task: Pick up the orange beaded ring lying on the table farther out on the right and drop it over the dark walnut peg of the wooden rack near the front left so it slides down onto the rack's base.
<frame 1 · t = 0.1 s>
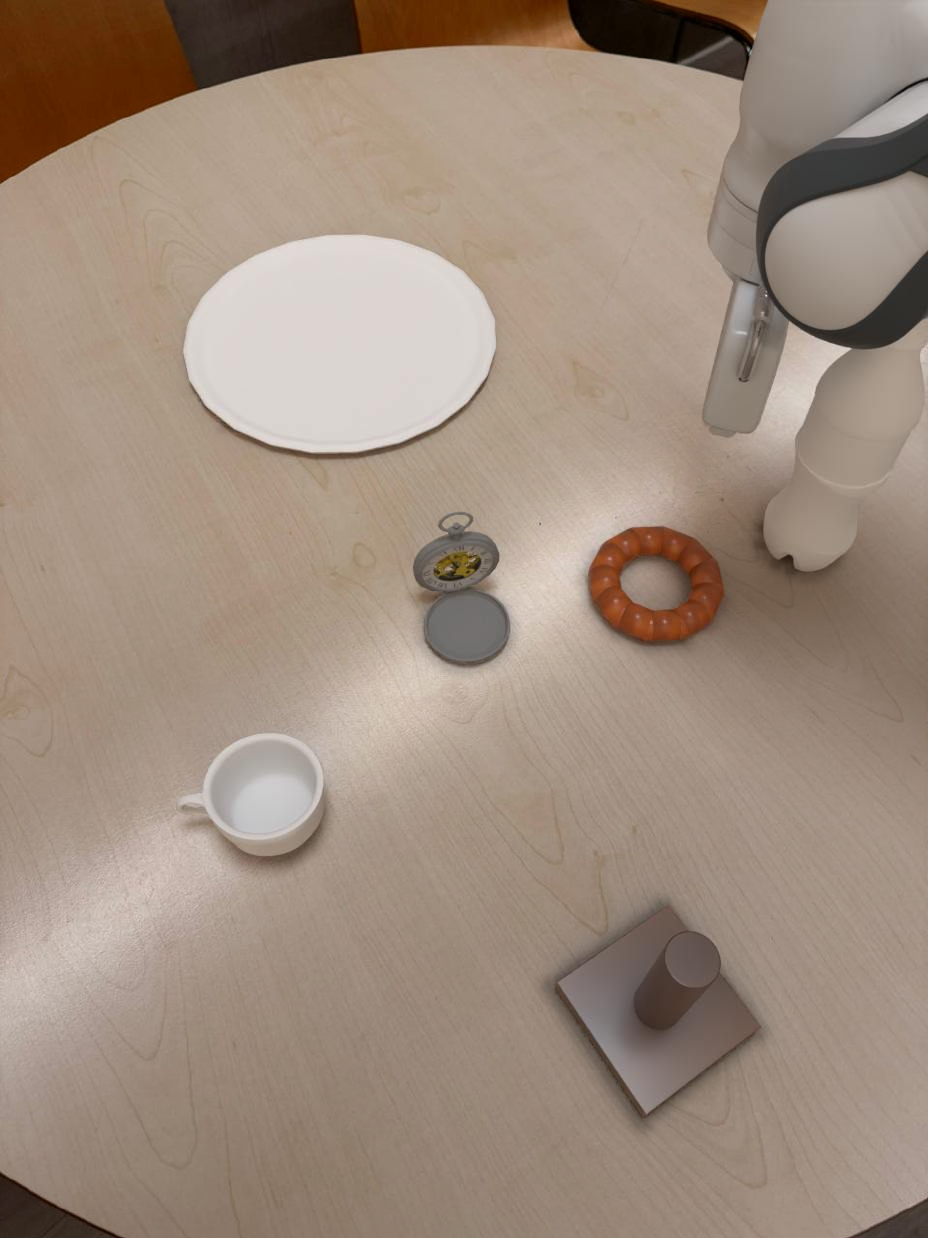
hand: (732, 383, 75), 14 cm above the table, tool pointing down, fingers open, 8 cm apart
teacup: (260, 818, 72), on the table
orange beaded ring: (655, 582, 81), point 1 cm above the table
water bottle: (799, 546, 84), on the table
rack: (653, 1009, 65), on the table
pocket watch: (465, 619, 80), on the table
plate: (342, 344, 97), on the table
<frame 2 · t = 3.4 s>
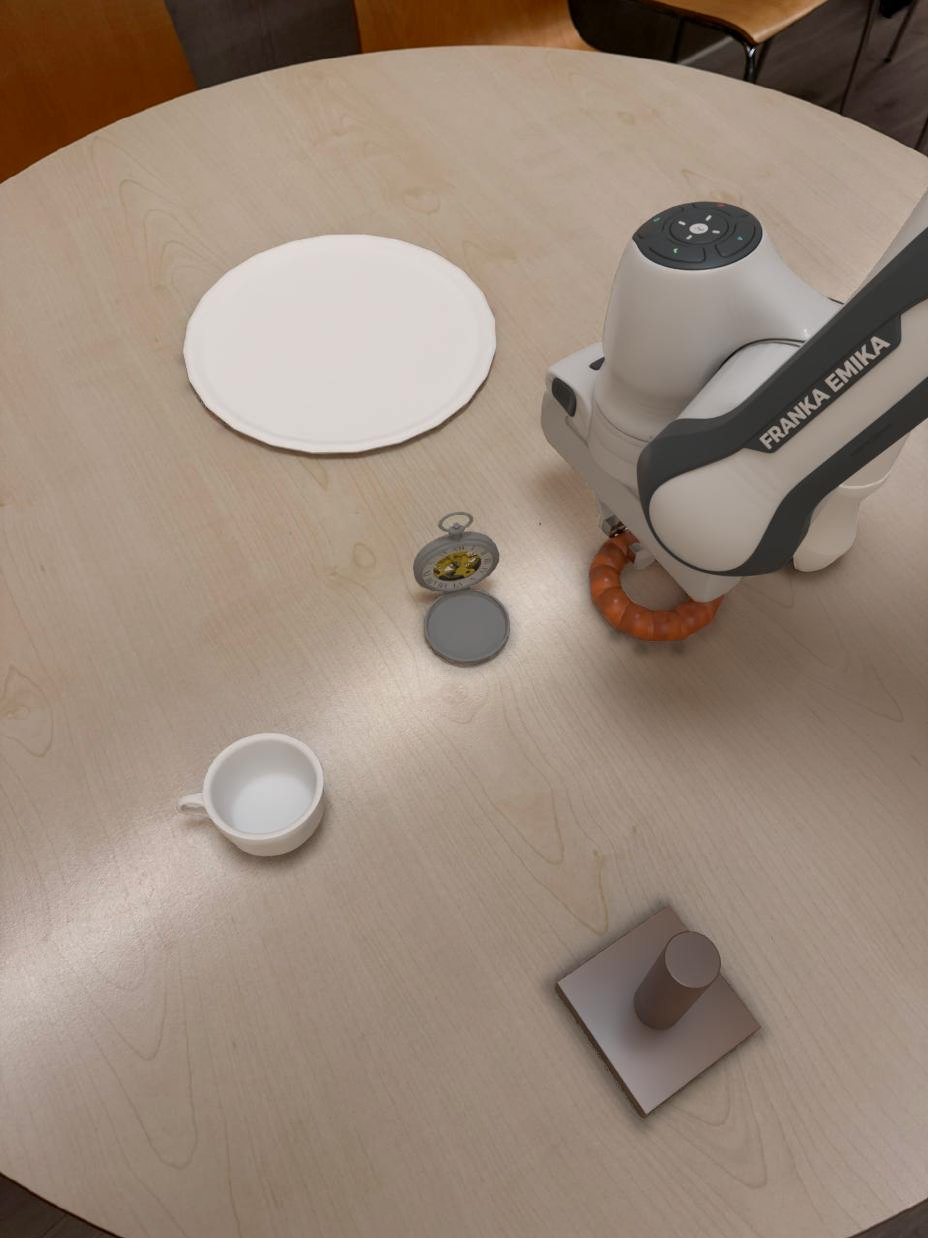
hand: (625, 544, 82), 2 cm above the table, tool pointing down, fingers closed on orange beaded ring, 2 cm apart
orange beaded ring: (655, 582, 81), point 1 cm above the table, touching gripper
everything else where it was.
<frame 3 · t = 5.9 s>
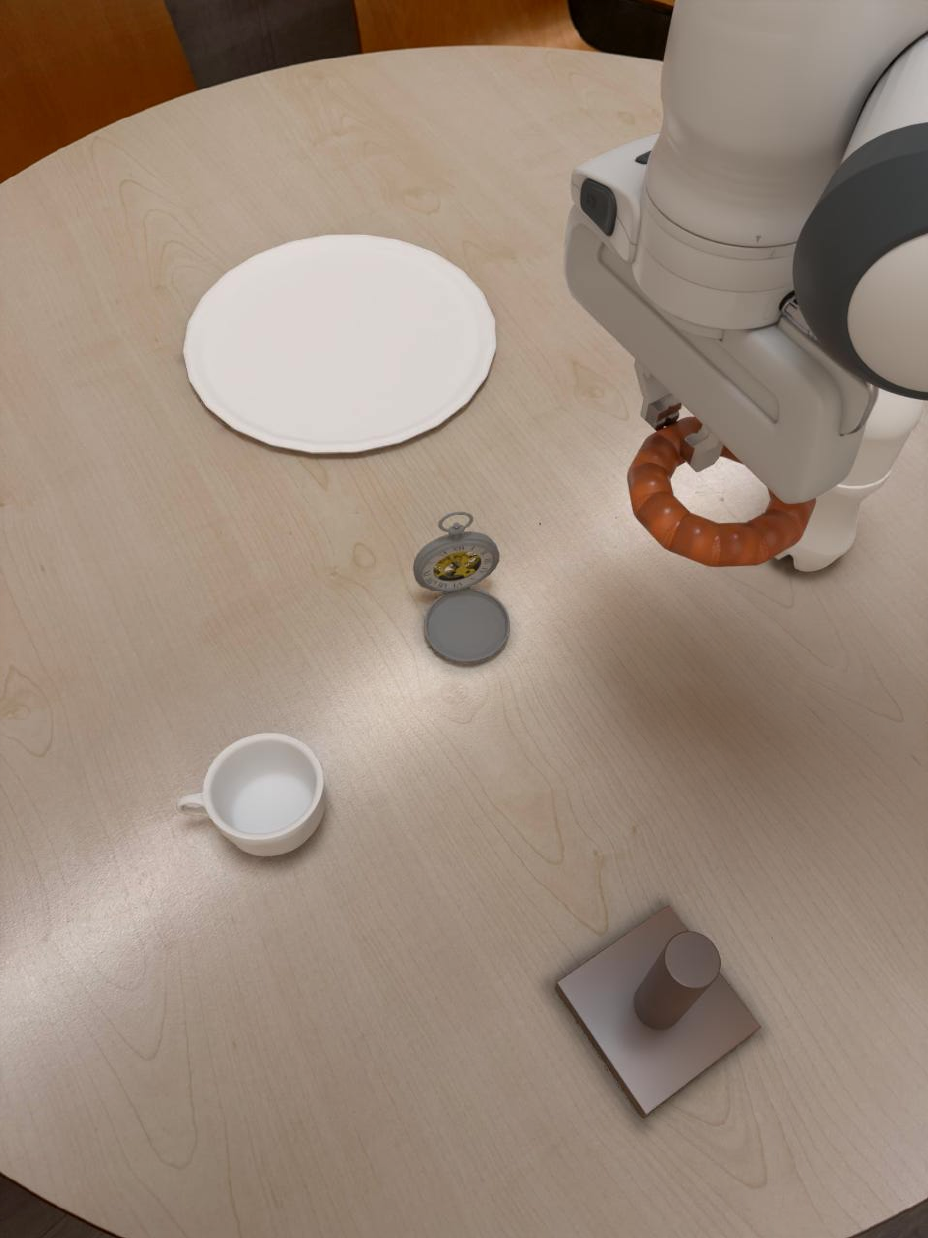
hand: (677, 440, 60), 23 cm above the table, tool pointing down, fingers closed on orange beaded ring, 2 cm apart
orange beaded ring: (720, 488, 59), point 22 cm above the table, touching gripper
everything else where it was.
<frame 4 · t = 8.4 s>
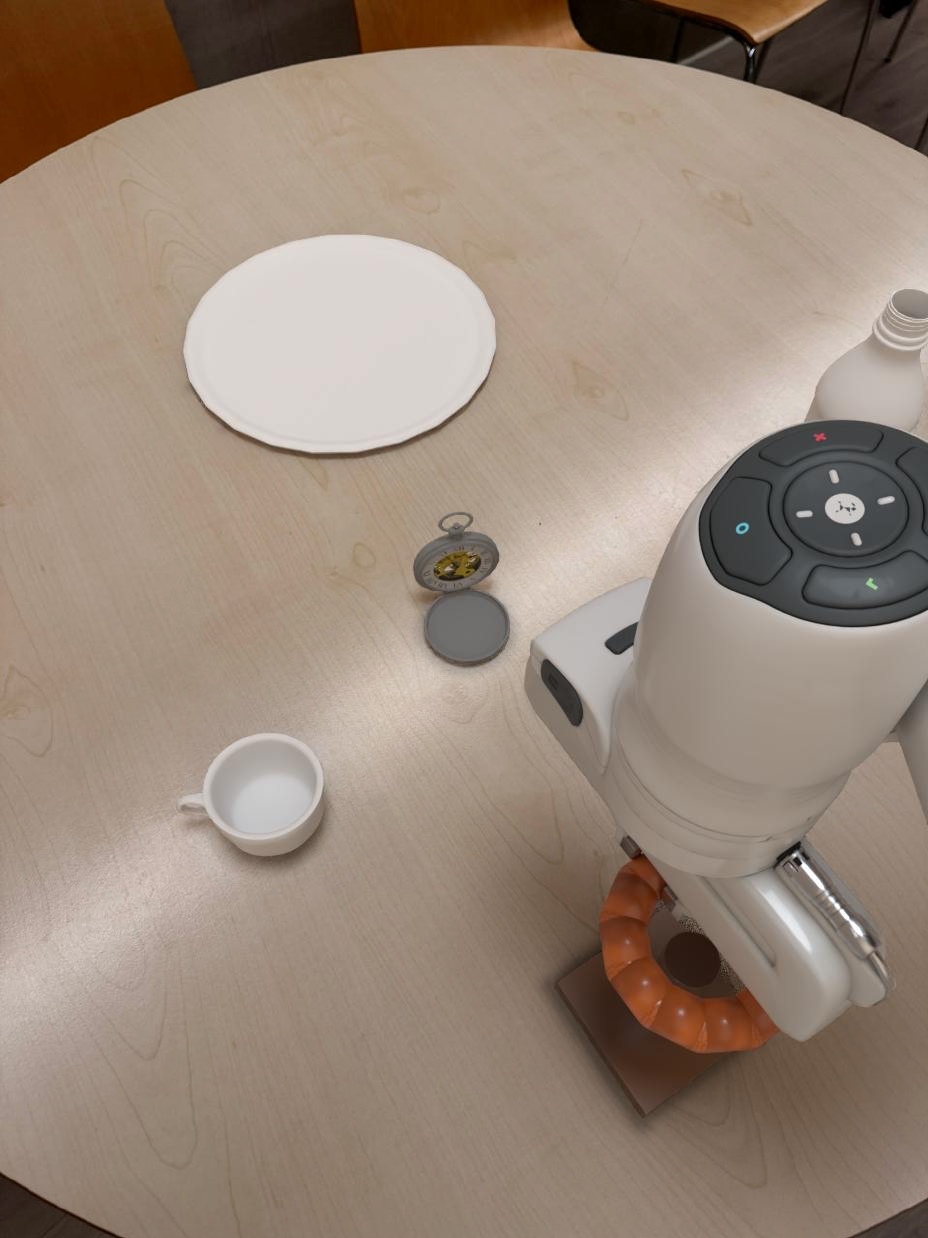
hand: (656, 871, 52), 17 cm above the table, tool pointing down, fingers closed on orange beaded ring, 2 cm apart
orange beaded ring: (705, 939, 51), point 16 cm above the table, touching gripper
everything else where it was.
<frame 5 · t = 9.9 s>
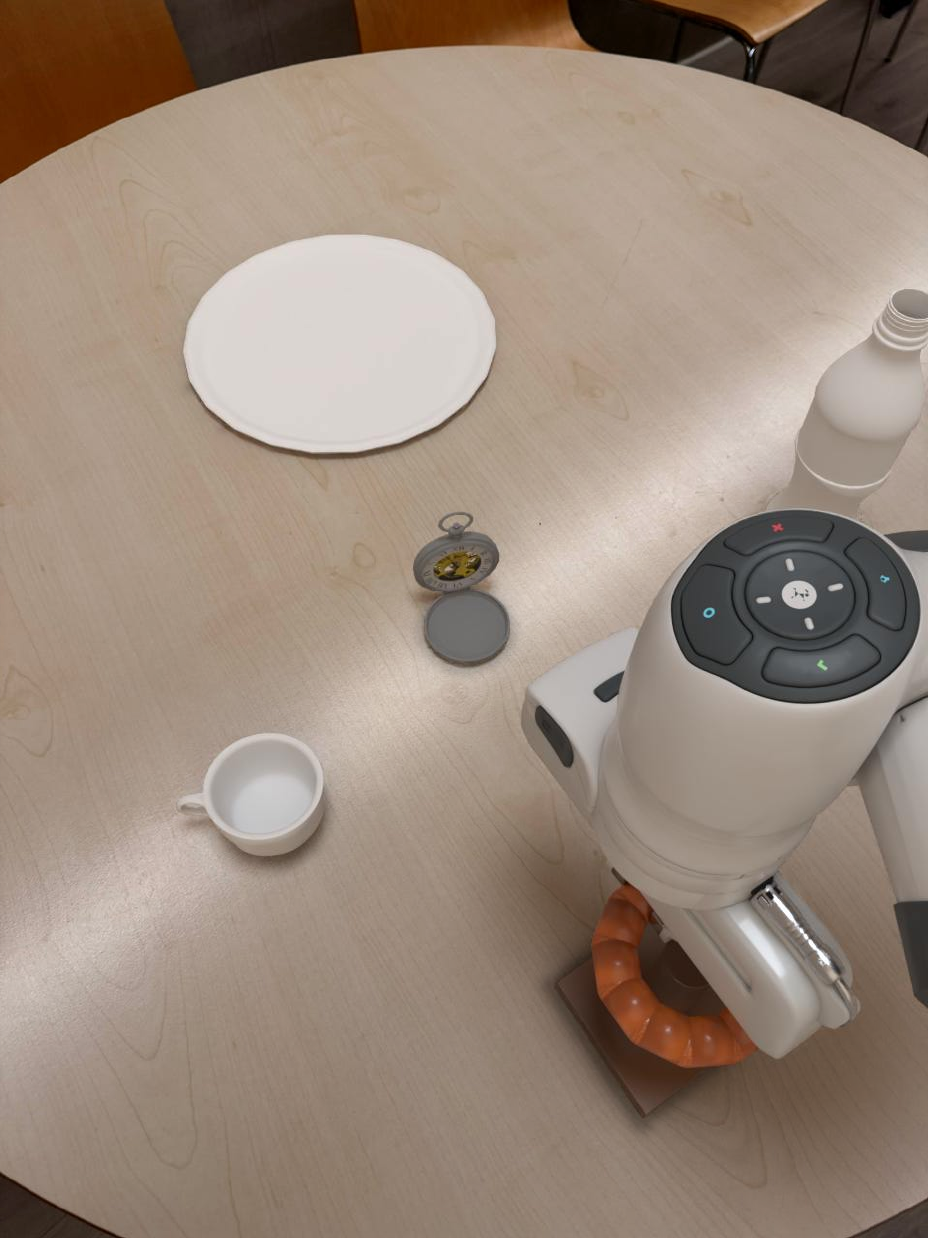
hand: (645, 895, 56), 13 cm above the table, tool pointing down, fingers closed on orange beaded ring, 2 cm apart
orange beaded ring: (691, 960, 54), point 12 cm above the table, touching gripper
everything else where it was.
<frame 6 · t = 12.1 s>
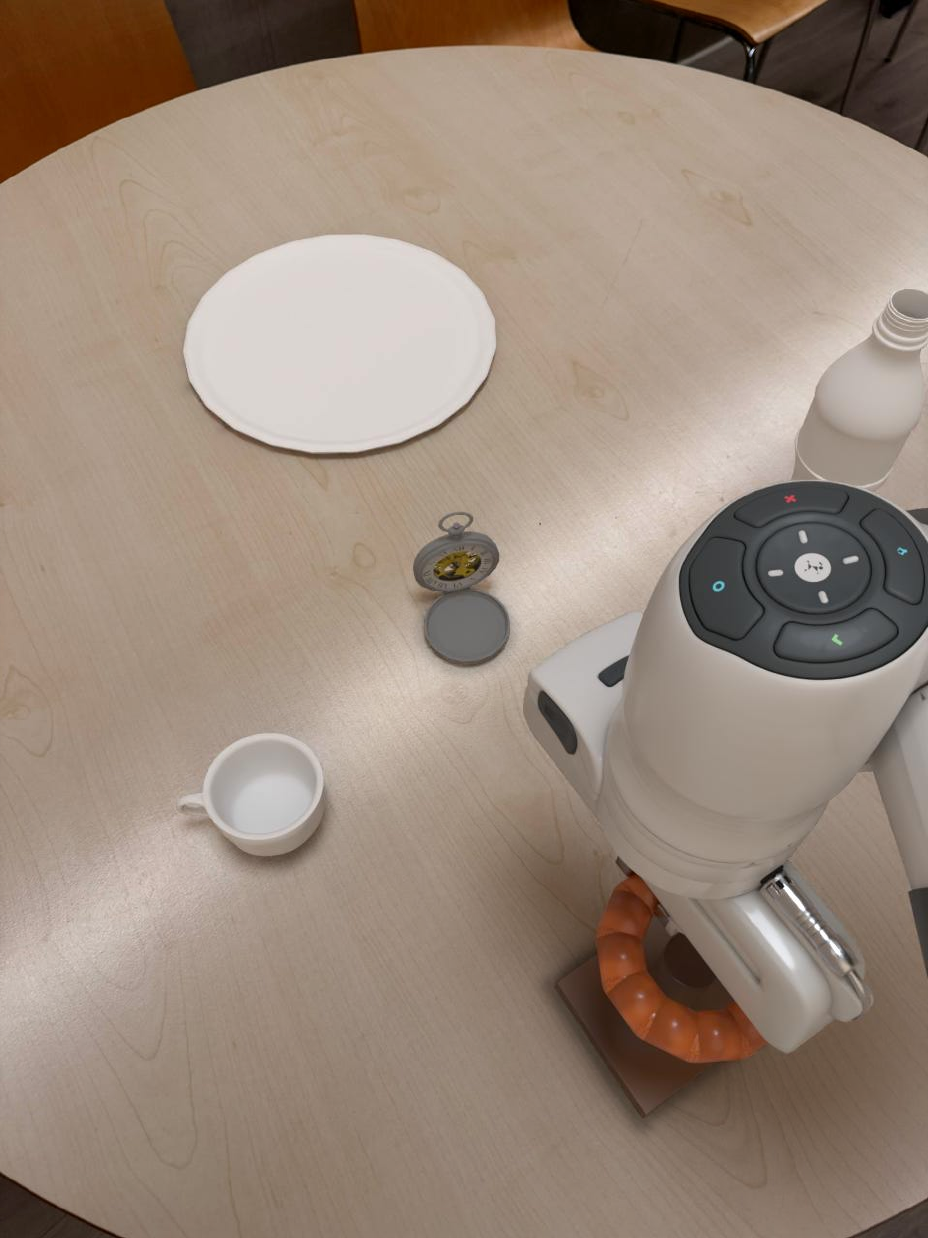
hand: (651, 887, 55), 14 cm above the table, tool pointing down, fingers closed on orange beaded ring, 2 cm apart
orange beaded ring: (698, 954, 53), point 14 cm above the table, touching gripper
everything else where it was.
when the fingers open (14 cm above the table, at t = 13.9 s): orange beaded ring drops 11 cm, resting on rack.
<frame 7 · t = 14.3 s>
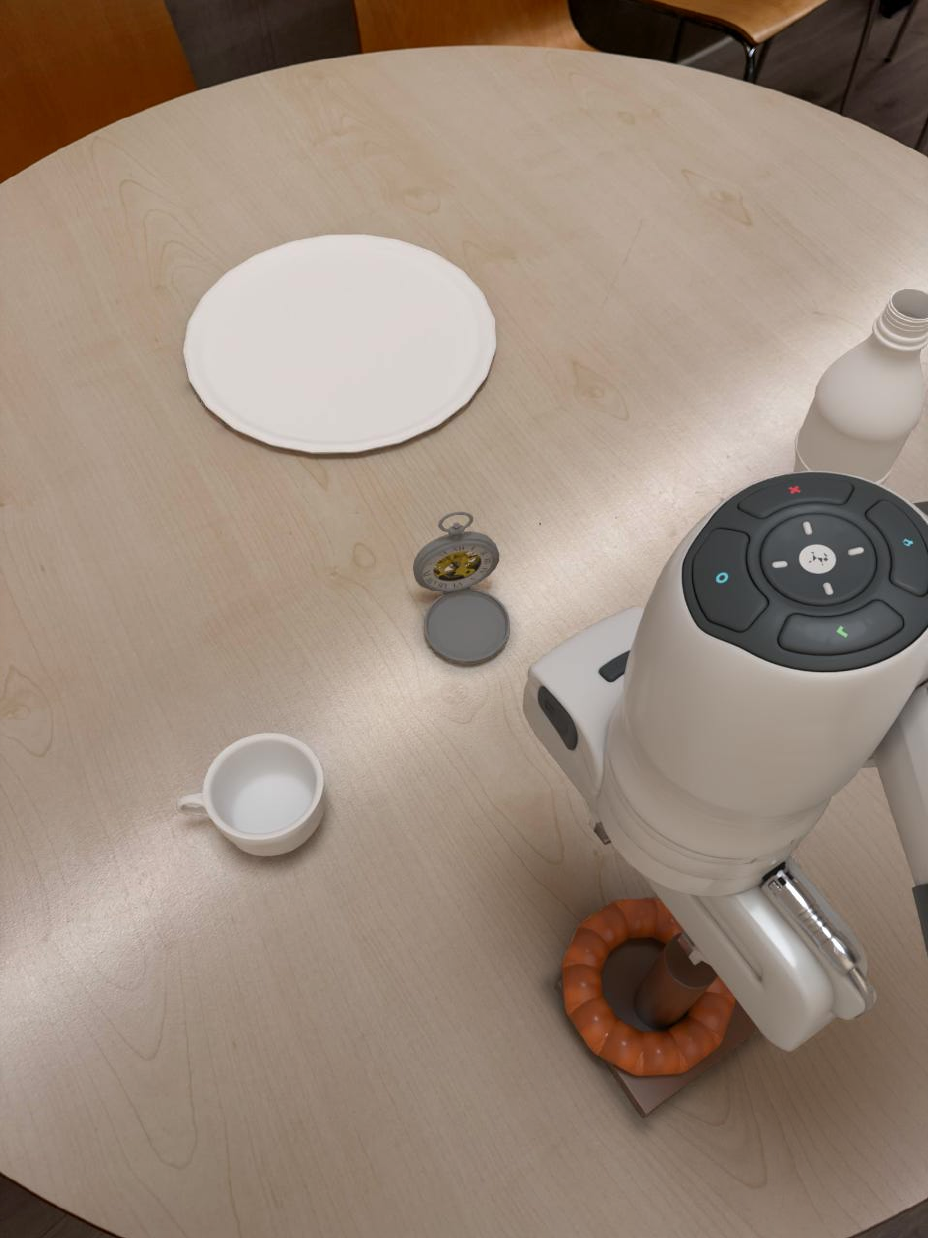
hand: (651, 885, 54), 14 cm above the table, tool pointing down, fingers open, 6 cm apart
orange beaded ring: (647, 983, 63), point 3 cm above the table, touching rack
everything else where it was.
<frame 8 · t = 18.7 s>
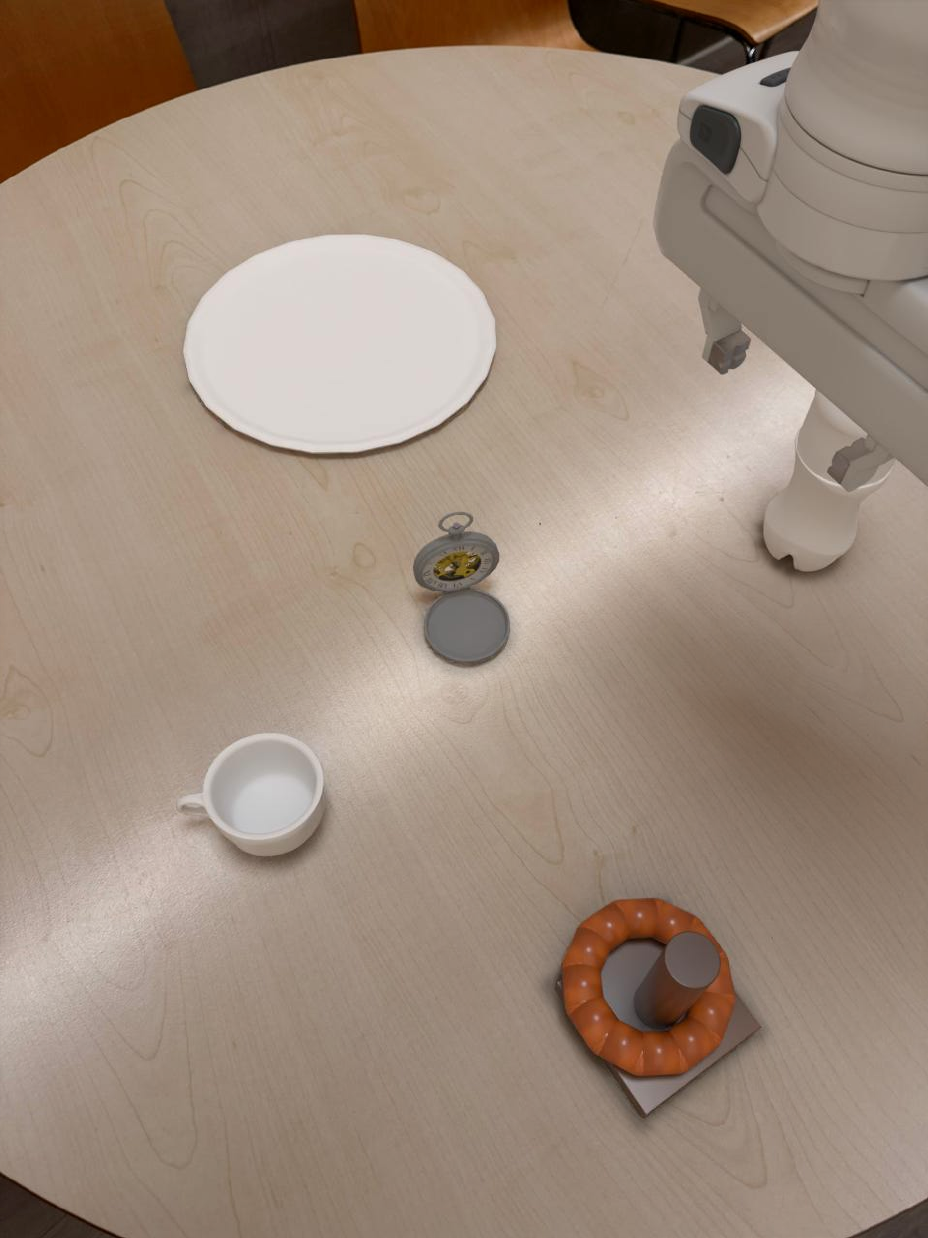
hand: (782, 418, 52), 29 cm above the table, tool pointing down, fingers open, 8 cm apart
nothing on the table moved.
at the end: orange beaded ring 1.2 cm off-centre on the rack, point 2.7 cm above the rack's base; the gripper is holding nothing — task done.
